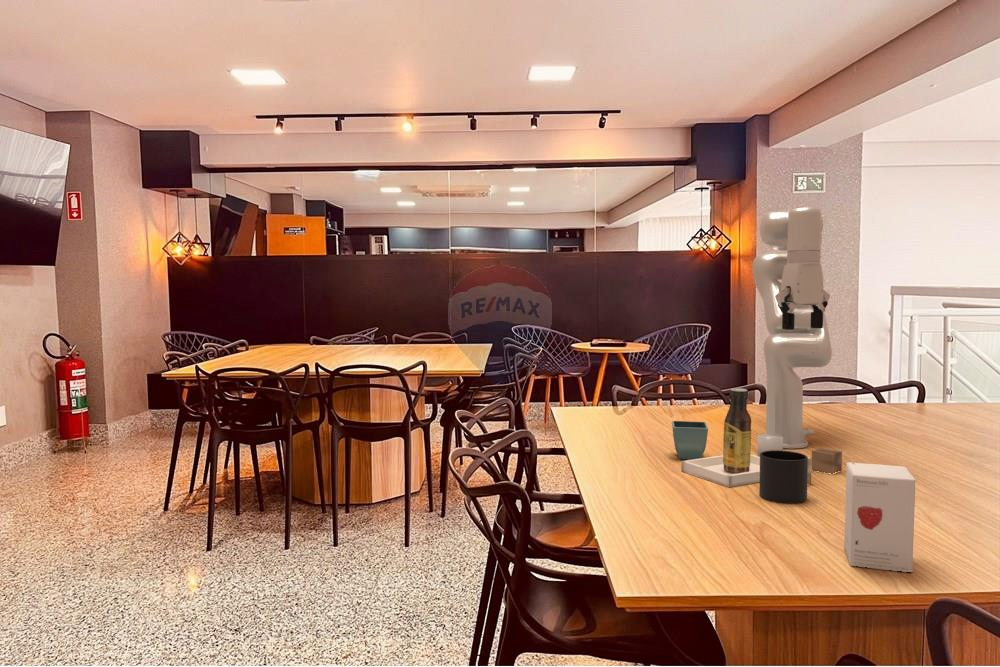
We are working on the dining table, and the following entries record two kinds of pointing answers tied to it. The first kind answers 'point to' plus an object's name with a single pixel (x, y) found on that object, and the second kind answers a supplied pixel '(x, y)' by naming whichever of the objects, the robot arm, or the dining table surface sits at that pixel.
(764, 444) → the white rounded block
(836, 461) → the walnut cube
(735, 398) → the sauce bottle
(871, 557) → the supplement box
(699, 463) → the tray
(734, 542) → the dining table surface
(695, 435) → the flower pot
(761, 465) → the mug
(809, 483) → the beech block
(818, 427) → the dining table surface
